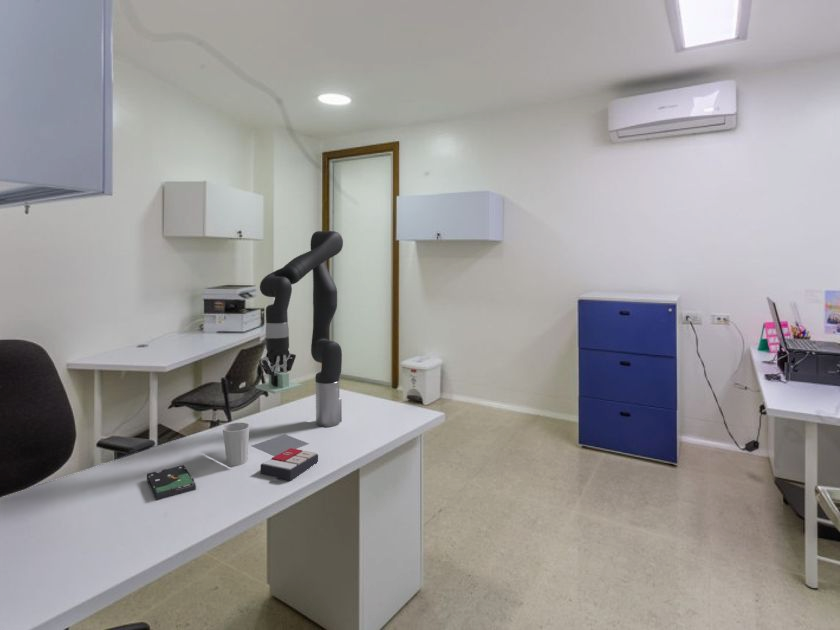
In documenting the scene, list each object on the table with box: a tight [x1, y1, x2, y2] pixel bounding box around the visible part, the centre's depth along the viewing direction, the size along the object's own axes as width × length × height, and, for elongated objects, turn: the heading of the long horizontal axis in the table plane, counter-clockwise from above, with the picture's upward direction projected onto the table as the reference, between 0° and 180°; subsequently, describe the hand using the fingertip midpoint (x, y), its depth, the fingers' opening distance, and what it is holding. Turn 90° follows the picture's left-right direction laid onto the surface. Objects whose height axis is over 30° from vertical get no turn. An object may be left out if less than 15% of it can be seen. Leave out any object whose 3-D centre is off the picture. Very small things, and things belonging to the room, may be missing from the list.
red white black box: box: [260, 448, 319, 483], centre depth 151 cm, size 11×4×15 cm
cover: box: [255, 370, 303, 395], centre depth 165 cm, size 11×11×5 cm
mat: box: [251, 434, 310, 457], centre depth 168 cm, size 14×14×1 cm
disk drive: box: [146, 464, 197, 501], centre depth 139 cm, size 10×3×15 cm
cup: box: [222, 422, 250, 468], centre depth 154 cm, size 8×8×12 cm
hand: (278, 384), depth 166 cm, fingers closed on cover, 2 cm apart
